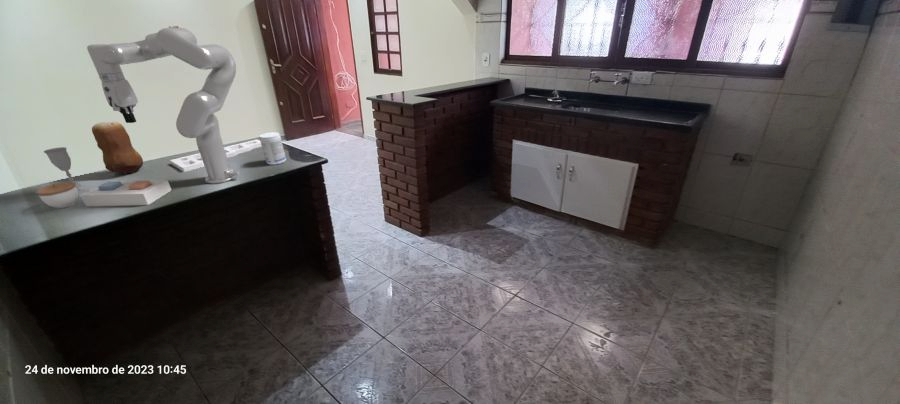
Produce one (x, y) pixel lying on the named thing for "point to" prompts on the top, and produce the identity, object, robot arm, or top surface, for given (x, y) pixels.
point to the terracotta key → (139, 185)
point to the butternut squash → (116, 148)
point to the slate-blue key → (110, 185)
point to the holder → (192, 162)
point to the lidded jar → (59, 194)
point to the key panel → (127, 194)
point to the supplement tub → (272, 148)
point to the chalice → (62, 162)
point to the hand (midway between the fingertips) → (131, 122)
